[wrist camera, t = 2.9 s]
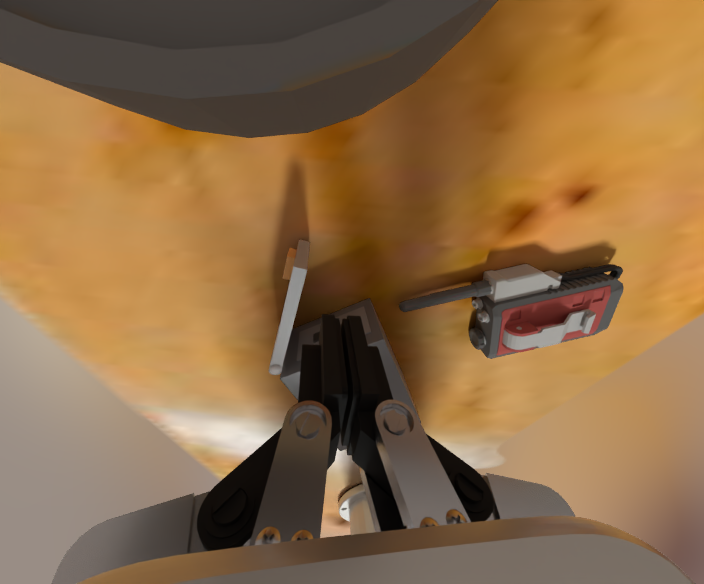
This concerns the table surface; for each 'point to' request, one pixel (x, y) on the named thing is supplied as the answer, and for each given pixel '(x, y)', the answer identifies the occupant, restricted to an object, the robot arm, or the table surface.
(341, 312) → the camera body
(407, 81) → the reusable coffee cup
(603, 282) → the walkie-talkie
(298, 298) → the side door
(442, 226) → the table surface
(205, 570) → the robot arm
